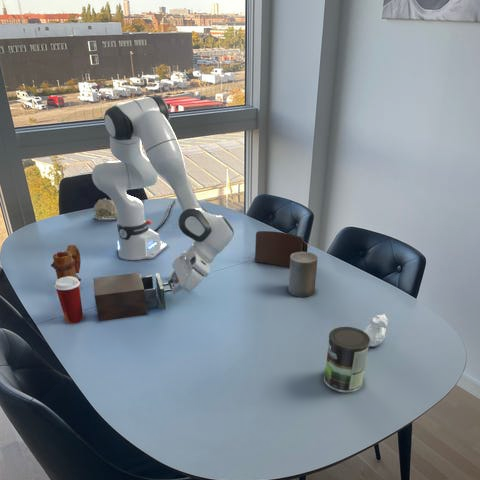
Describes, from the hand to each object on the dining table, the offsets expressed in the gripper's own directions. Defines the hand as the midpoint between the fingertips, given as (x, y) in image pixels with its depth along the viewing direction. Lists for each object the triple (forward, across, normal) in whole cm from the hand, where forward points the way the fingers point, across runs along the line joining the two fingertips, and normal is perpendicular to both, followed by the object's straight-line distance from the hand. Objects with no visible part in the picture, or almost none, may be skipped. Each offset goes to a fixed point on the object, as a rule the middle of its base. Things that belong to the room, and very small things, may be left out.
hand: (170, 287), depth 161 cm
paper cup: (+27, +3, -19) cm, 33 cm away
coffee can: (-22, +57, +30) cm, 68 cm away
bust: (-34, +43, +42) cm, 69 cm away
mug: (+28, -22, -20) cm, 41 cm away
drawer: (+9, 0, -2) cm, 9 cm away
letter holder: (-31, -23, +39) cm, 55 cm away
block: (-1, -17, +9) cm, 19 cm away
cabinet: (+16, 0, -8) cm, 18 cm away
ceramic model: (+16, -102, -8) cm, 103 cm away
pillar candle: (-29, +5, +37) cm, 48 cm away
